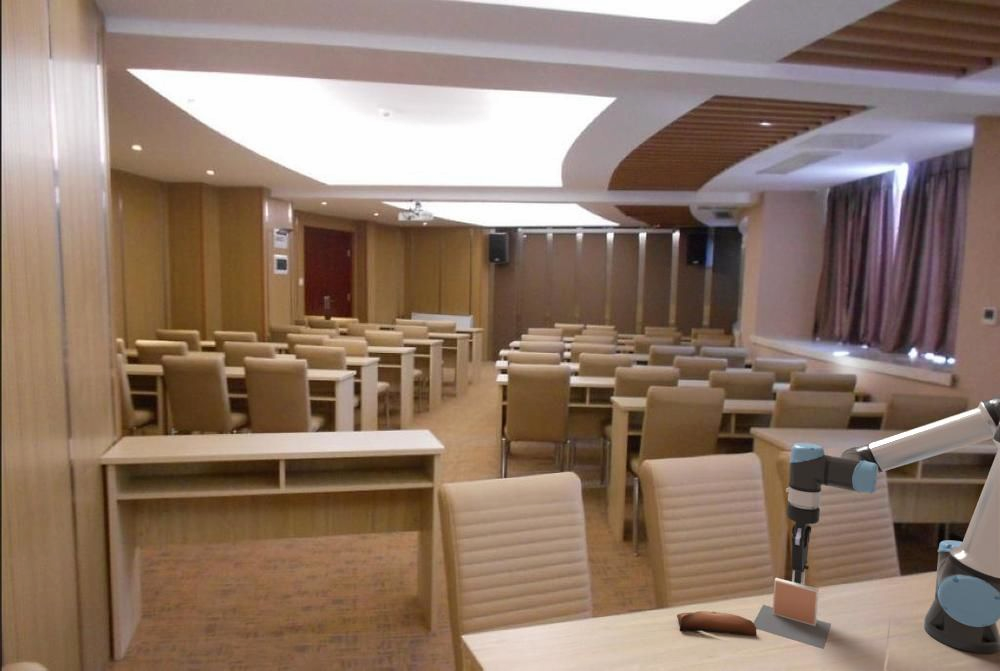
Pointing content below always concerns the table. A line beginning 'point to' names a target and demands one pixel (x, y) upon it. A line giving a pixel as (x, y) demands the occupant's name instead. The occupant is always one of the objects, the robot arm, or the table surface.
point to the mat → (792, 628)
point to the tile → (795, 601)
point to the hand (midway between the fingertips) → (797, 593)
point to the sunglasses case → (716, 623)
